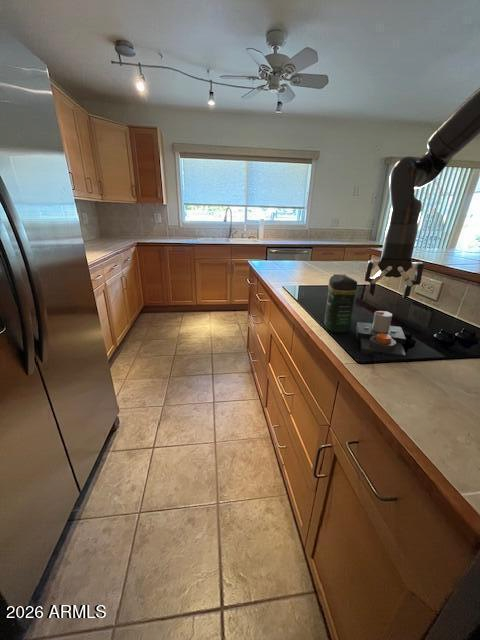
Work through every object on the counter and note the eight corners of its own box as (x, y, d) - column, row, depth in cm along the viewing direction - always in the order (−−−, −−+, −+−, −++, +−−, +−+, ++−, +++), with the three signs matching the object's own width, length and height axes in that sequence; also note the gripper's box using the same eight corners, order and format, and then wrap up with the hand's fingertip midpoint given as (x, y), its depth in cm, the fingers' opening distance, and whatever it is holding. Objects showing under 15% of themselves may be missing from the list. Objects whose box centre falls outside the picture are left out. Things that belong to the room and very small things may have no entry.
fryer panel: (399, 335, 85) (401, 326, 84) (403, 348, 78) (406, 338, 76) (356, 329, 90) (357, 321, 89) (356, 341, 82) (358, 332, 81)
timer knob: (388, 327, 84) (392, 311, 81) (389, 334, 80) (393, 316, 77) (371, 325, 85) (374, 309, 83) (371, 331, 81) (375, 314, 79)
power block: (400, 348, 78) (403, 337, 76) (404, 360, 72) (407, 349, 70) (360, 342, 81) (362, 332, 80) (360, 353, 75) (362, 342, 74)
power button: (389, 339, 76) (390, 334, 75) (390, 345, 73) (392, 339, 72) (375, 337, 77) (376, 332, 77) (376, 343, 74) (377, 337, 74)
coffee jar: (353, 334, 87) (362, 279, 79) (329, 334, 87) (336, 280, 79) (343, 322, 96) (350, 272, 88) (321, 322, 96) (327, 272, 88)
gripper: (371, 242, 72) (362, 298, 78) (433, 242, 66) (418, 302, 73) (370, 238, 78) (361, 290, 84) (426, 239, 73) (413, 294, 79)
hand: (388, 296), depth 79 cm, fingers open, 8 cm apart
